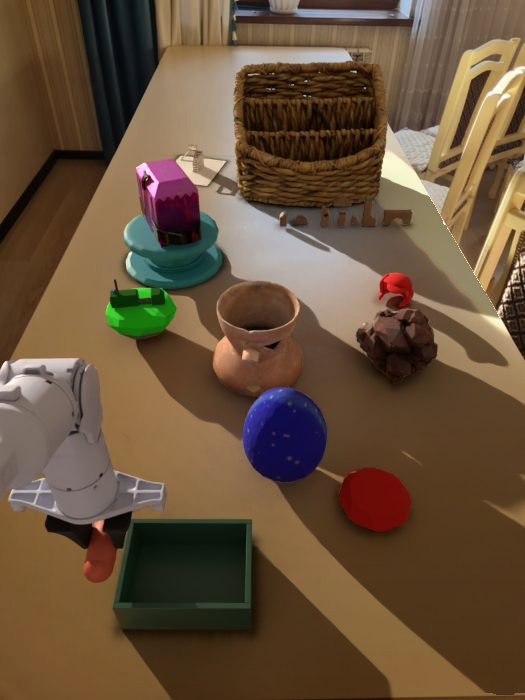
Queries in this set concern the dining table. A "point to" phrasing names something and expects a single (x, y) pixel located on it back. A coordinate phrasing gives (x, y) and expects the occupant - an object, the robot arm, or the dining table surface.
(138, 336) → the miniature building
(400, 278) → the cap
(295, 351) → the ceramic jug
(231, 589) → the bin
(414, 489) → the dining table surface
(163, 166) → the decorative object
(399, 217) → the wooden blocks
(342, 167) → the basket
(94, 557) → the red capsule pill
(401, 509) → the gemstone
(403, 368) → the mineral specimen
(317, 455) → the ornament
